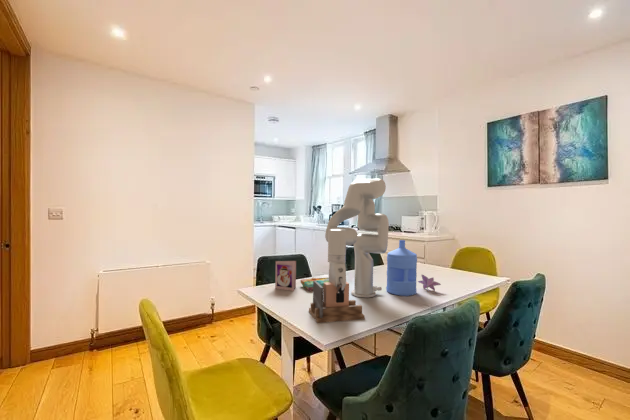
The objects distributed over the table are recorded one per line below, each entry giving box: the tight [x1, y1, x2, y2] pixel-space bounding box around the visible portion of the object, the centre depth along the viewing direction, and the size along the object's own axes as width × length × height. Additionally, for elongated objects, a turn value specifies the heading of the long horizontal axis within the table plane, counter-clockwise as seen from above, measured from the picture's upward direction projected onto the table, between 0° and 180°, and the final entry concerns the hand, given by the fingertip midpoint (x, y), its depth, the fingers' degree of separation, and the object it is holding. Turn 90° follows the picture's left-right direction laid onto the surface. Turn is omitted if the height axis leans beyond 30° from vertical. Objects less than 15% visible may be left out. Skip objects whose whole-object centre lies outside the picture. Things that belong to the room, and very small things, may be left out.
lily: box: [417, 274, 442, 291], centre depth 171 cm, size 11×11×9 cm
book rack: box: [308, 281, 366, 324], centre depth 131 cm, size 20×14×14 cm
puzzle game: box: [300, 277, 329, 291], centre depth 176 cm, size 12×5×20 cm
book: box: [323, 281, 350, 308], centre depth 132 cm, size 10×4×12 cm, turn 105°
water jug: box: [385, 239, 418, 297], centre depth 168 cm, size 16×16×28 cm
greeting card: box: [274, 260, 297, 292], centre depth 173 cm, size 11×7×15 cm, turn 68°
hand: (336, 298), depth 131 cm, fingers open, 9 cm apart
